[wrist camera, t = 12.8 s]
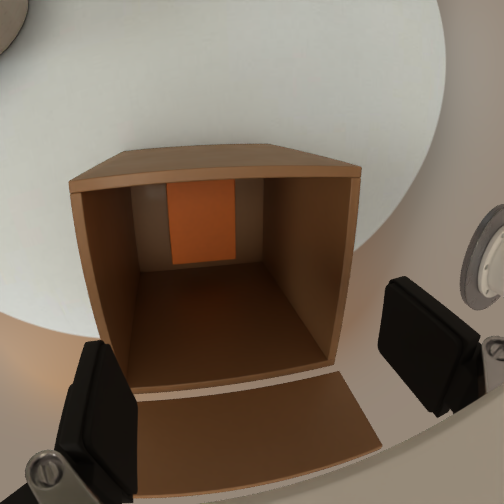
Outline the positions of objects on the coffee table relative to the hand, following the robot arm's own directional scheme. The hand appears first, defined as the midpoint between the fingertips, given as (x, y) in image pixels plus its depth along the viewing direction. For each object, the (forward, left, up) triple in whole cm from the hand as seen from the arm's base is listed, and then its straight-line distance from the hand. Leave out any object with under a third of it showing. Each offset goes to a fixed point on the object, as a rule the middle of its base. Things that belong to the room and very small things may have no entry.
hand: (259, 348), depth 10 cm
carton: (0, 0, -19) cm, 19 cm away
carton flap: (0, +6, -1) cm, 6 cm away
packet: (0, 0, -18) cm, 18 cm away
